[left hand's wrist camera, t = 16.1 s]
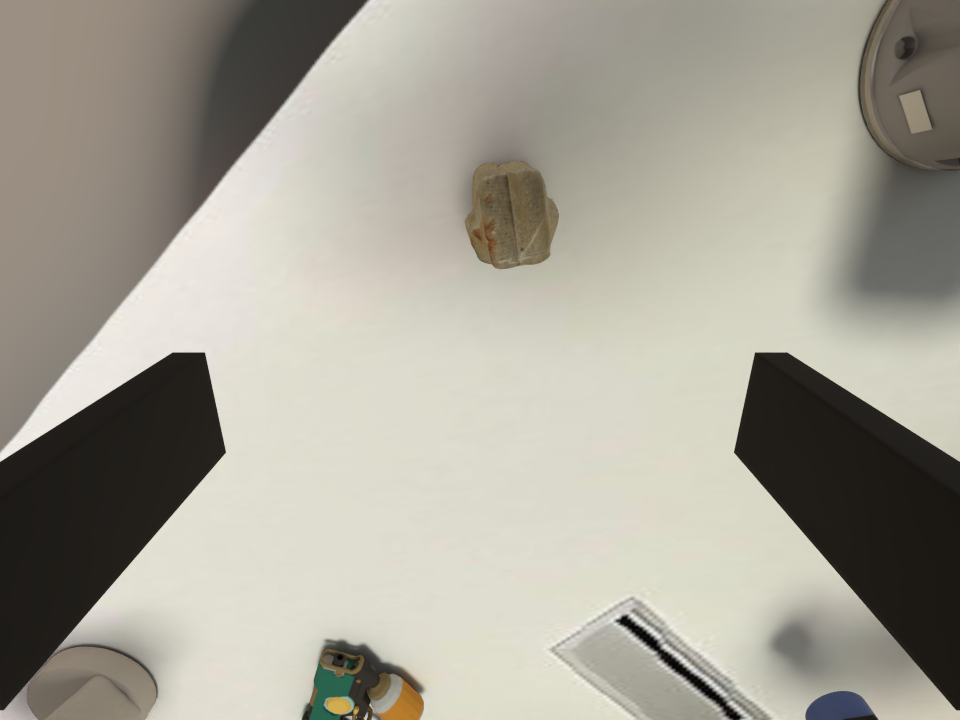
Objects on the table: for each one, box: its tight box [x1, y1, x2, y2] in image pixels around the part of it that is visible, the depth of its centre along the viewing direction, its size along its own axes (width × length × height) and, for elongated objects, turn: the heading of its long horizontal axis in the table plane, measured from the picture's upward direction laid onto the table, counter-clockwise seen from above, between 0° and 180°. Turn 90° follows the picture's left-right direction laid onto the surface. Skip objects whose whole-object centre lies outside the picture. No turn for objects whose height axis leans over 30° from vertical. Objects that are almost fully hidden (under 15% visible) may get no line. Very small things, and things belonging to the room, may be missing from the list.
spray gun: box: [302, 649, 424, 720], centre depth 59 cm, size 4×17×15 cm
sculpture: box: [465, 161, 559, 269], centre depth 33 cm, size 6×7×15 cm
